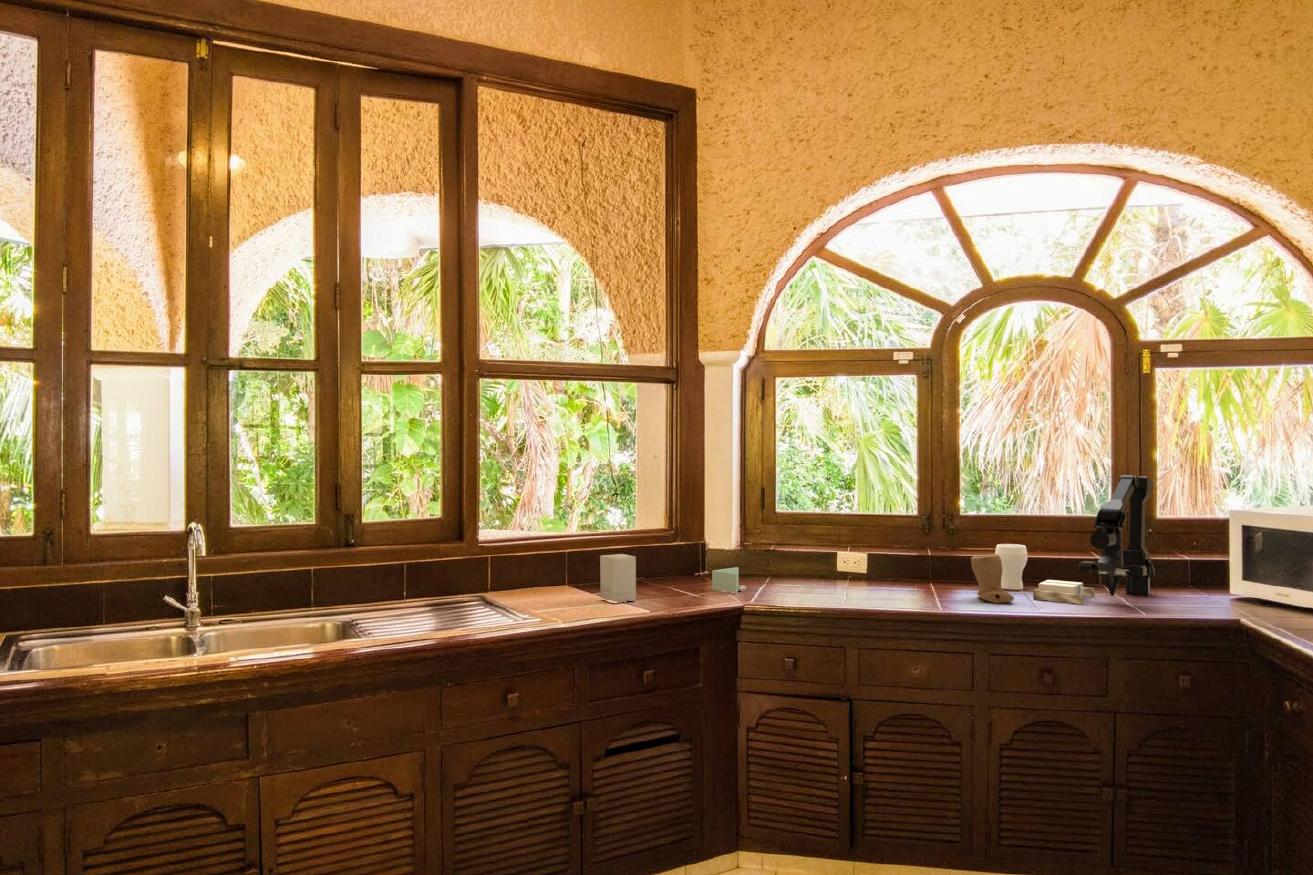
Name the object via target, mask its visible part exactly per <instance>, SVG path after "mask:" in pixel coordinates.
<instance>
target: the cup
mask: <svg viewBox="0 0 1313 875" xmlns="http://www.w3.org/2000/svg"><path fill="white" fill-rule="evenodd" d="M994 551H995V552H994V554H995V555H996V554H998V555H999V556H1000V557H1001V562H1002V578H1001V588H1002V590H1016V591H1017V590H1023V589H1024V584H1023V579H1022V578H1023V571H1024V569H1025V567H1026V566H1027V562H1028V550H1027V546H1026V545H1023V544H1017V543H1016V544H1015V543H999V544H997V545H996V546H995V550H994Z"/></svg>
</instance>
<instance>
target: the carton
mask: <svg viewBox="0 0 1313 875" xmlns="http://www.w3.org/2000/svg"><path fill="white" fill-rule="evenodd" d="M1083 587H1084V582H1077V581H1067V580H1056V579H1046V580H1044V581H1042V582H1040V583H1038V588H1039V591H1049V592H1060V593H1070V594H1081V595H1083Z"/></svg>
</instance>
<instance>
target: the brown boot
mask: <svg viewBox="0 0 1313 875" xmlns="http://www.w3.org/2000/svg"><path fill="white" fill-rule="evenodd" d="M970 563H971V569H972V572H973V573H974V577H975V578H976V581H977V584H978V586H979V587H978V588H979V590H978V591H977V593H976V594H977V596H978V597H979V598H981V599H983V600H985V601H988V602H990V603H996V604H1003V603H1007V602H1012V601H1014V599H1015V597H1014V596H1013V595H1012V594H1011V593H1009V592H1008V591H1005V589H1003V588H1001V578H1002V562H1001V557H1000V556H999V555H998V554H996V555H995V553H994V554H993V553H991V554H985V555H975V556H972V557H971V558H970Z"/></svg>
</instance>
